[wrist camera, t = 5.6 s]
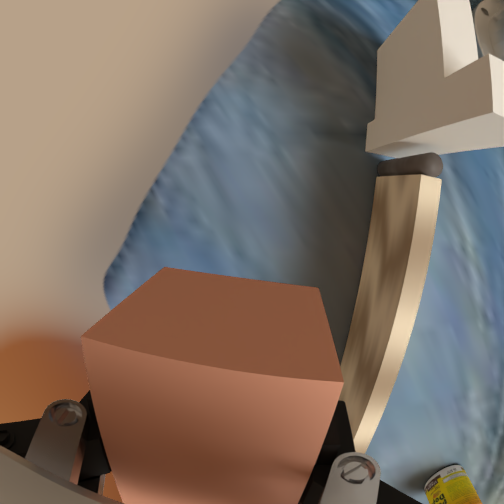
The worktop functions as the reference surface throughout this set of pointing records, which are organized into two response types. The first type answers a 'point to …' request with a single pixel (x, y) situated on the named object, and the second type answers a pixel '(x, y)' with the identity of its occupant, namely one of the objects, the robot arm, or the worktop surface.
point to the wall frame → (436, 86)
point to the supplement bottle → (451, 487)
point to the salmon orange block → (213, 389)
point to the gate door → (389, 287)
